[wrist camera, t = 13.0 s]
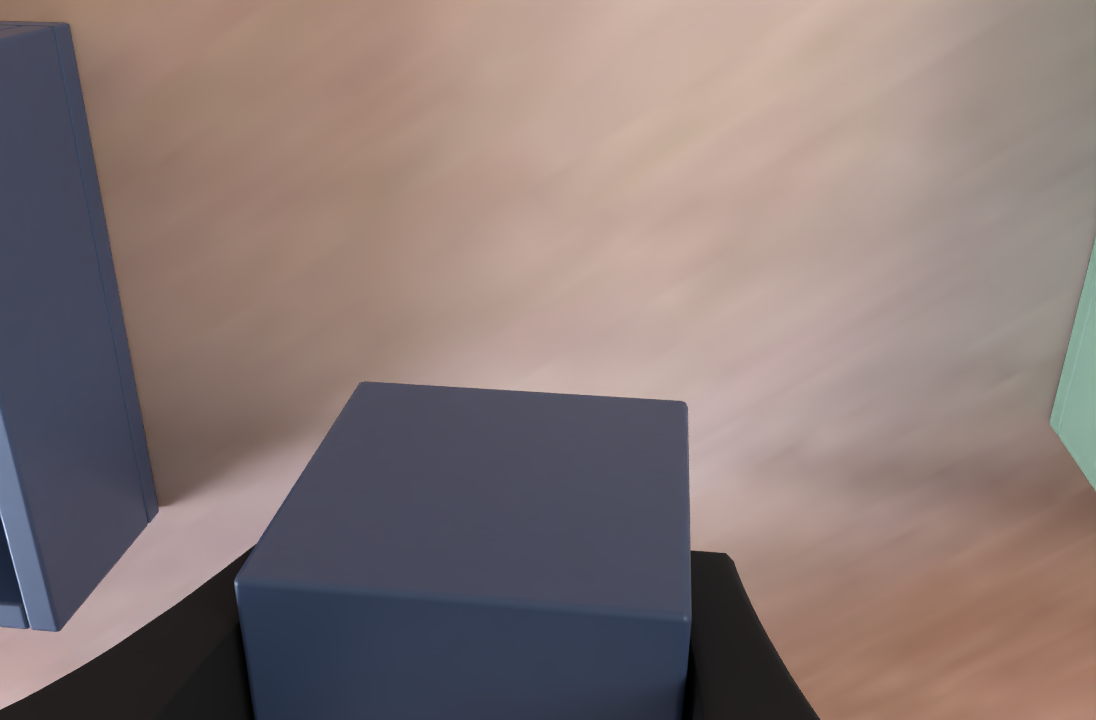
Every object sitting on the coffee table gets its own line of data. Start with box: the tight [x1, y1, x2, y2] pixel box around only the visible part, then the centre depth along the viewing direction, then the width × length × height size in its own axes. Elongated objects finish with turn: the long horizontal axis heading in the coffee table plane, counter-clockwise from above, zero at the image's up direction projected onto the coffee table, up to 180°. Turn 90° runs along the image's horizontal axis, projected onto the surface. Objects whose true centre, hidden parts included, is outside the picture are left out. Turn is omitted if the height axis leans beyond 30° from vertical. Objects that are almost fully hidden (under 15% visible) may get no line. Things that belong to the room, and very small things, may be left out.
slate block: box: [234, 381, 692, 720], centre depth 13 cm, size 4×4×4 cm
